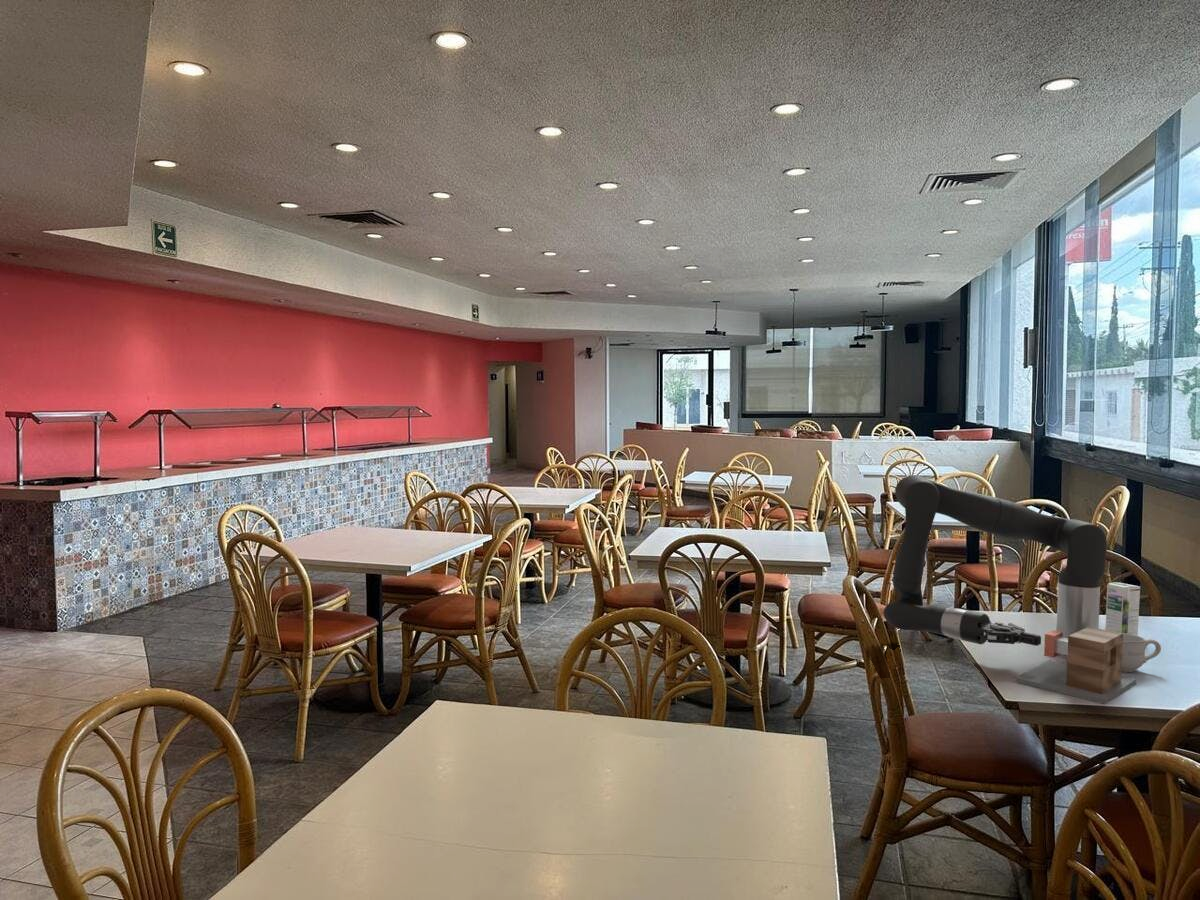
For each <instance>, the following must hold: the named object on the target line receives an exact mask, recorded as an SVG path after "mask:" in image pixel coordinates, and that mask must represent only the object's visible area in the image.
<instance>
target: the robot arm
mask: <svg viewBox="0 0 1200 900" xmlns="http://www.w3.org/2000/svg"><path fill="white" fill-rule="evenodd" d="M894 494H895V497H896V499H897V501H898V503H899V504H900V505H901V507H903V508H904V513H905V514H904V515H905V525H904V531H903V537H902V539H901V542H900V544H899V547H898V550H897V553H896V557H895V561H894V568H893V575H892V585H893V587H894V589H896V590H897V591H898V594H897V595H898V597H897V599H894V600H893V601H890V602H889V603H888V604H886V605H885V607H884V610H883V617H884V620H885V621H886V622H887V623H888V624H889V625H890V626H891V627H893V628H896V629H899V630H905V631H916V632H918V631H919V632H930V633H932V634H936V635H942V636H946V637H949V638H952V639H955V640H960V641H965V642H968V643H972V644H975V645H976V644H977V645H984V644H985V643H986V642H987V643H992V644H993V643H994V644H1006V645H1007V644H1010V645H1015V644H1021V643H1022V644H1026V645H1032V646H1036V647H1037V646H1040V645H1041V644H1042V636H1041V635H1039V634H1035V633H1029V632H1025V631H1026V629H1025V628H1022V627H1020V626H1019V625H1016V624H1014V623H1011V622H1010V623H1008V624H1004V623H1003V622H1000V621H995V622H994V623H992V621H991V620H990V617H989V616H988V615H987V614H986V613H983V612H978V611H972V610H968V609H963V608H957V607H956V608H955V607H948V606H941V605H937V604H927V605H924V601H923V592H922V580H923V574H924V567H925V559H926V552H927V548H928V542H929V538H930V534H931V529H932V527H933V523H934V520H935V517H936V514H940V515H943V516H946V517H949V518H951V519H953V520H956V521H957V522H960V523H962V524H965V525H966V526H969V527H971V528H974V529H976V530H979V531H981V532H985V533H988V534H991V535H996V536H1000V537H1003V538H1008V539H1009V538H1010V539H1016V540H1027V541H1033V542H1037V543H1040V544H1042V545H1045V546H1048V547H1051V548H1053V549H1056V550H1058V551H1060V552H1062V553H1065V554H1067V557H1066V558H1067V559H1066V565H1065V568H1064V569H1060V570H1059V572H1058V577H1057V579H1058V582H1057V585H1058V586H1057V603H1056V605H1057V608H1056V629H1055V631H1060V632H1063V638H1067V639H1068V636H1069V635H1071V634H1074V633H1076V632H1078V631H1080V630H1082V629H1084V628H1087V627H1092V628H1097V629H1100V628H1099V625H1100V624H1099V623H1100V622H1099V621H1100V600H1101V598H1100V597H1101V595H1100V594H1101V582H1102V578H1103V577H1104V575H1105V572H1106V562H1107V550H1108V547H1107V546H1108V545H1107V544H1108V541H1107V536H1106V534H1105V531H1104V530H1103V528H1102V527H1100V526H1098V525H1097V524H1094V523H1093V522H1092V523H1091V522H1087V521H1084V520H1079V519H1072V518H1071V519H1070V518H1066V517H1059V516H1053V515H1048V514H1044V513H1040V512H1037V511H1035V510H1033V509H1031V508H1028V507H1027V506H1025V505H1022V504H1019V503H1017V502H1013V501H1010V500H1006V499H1003V498H999V497H996V496H990V495H987V494H982V493H978V492H973V491H967V490H961V489H957V488H953V487H949V486H947V485H943V484H941V483H938V482H936V481H933V480H931V479H928V478H926V477H924V476H921V475H917V474H916V475H909V476H904V477H903V478H902V479H900V480H899V481H898V482H897V484H896V486H895V490H894Z"/></svg>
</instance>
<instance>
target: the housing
mask: <svg viewBox="0 0 1200 900" xmlns="http://www.w3.org/2000/svg"><path fill="white" fill-rule="evenodd" d="M1122 649H1123V633H1118V632H1113V631H1108V630H1105V629H1102V628H1098V629H1097V628H1092V627H1087V628H1084V629H1082V630H1080V631H1078V632H1076V633H1074V634H1071V635H1069V636H1068V655H1066V656H1067V658H1066V659H1067V660H1066V664H1067V679H1066V686H1070V687H1074V688H1078V689H1082V690H1087V691H1091V692H1095V693H1099V694H1103V693H1105V692H1106V691H1108V690H1110V689H1111V688H1113V687H1114V686H1116V685H1118V684H1119V683H1121V676H1122Z"/></svg>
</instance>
